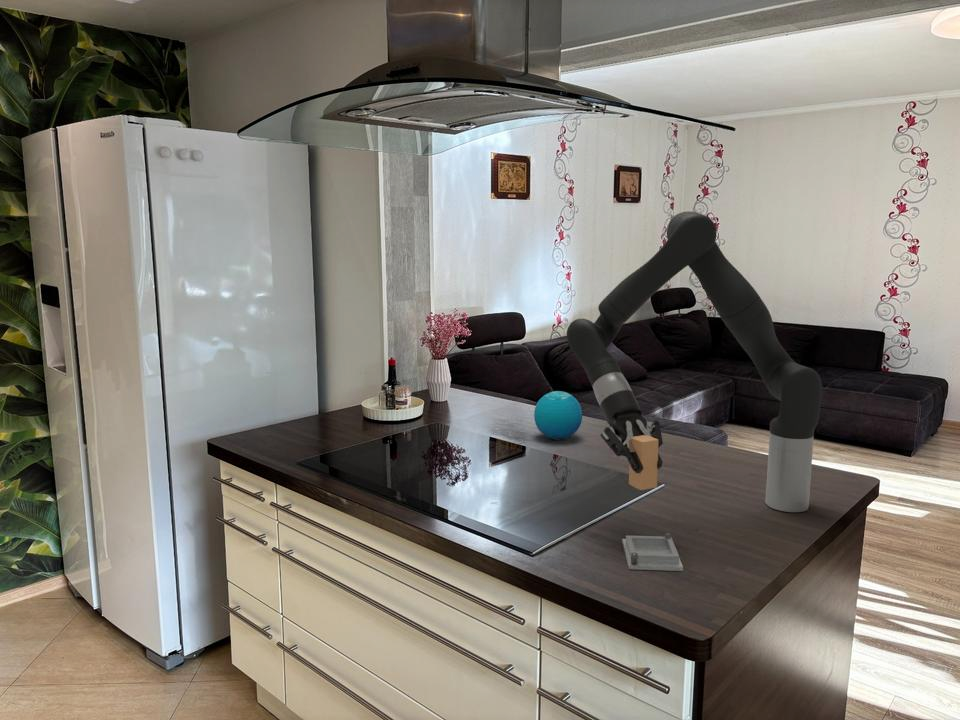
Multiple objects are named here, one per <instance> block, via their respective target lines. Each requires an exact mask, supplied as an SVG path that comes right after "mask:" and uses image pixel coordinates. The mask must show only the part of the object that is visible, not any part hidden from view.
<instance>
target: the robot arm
mask: <svg viewBox="0 0 960 720" xmlns="http://www.w3.org/2000/svg"><path fill="white" fill-rule="evenodd" d="M666 229H667V230H666V238H667V240H666V241H665V243H664V244H663V245H662V246H661V248H660V249H659V250H657V252H656V253H655V254H654V255H653V256H652V257H651V258H650V259H649V260H648V261H646V262H645V263H643V265H641V266H640V267H639V268H637V269H636V270H635V271H633V272H632V273H631V274H629V275H627V276H626V277H625V278H624V279H623V280H622V281H620V282H619V283H618V284H617V285H616V286H615V288H613V289H612V290H611V291H610V292H609V293H608V294H607V295H606V296H605V297H604V298H603V299H602V300H601V301H600V303H599V304H598V312H599V315H598V317H597V319H596V320H595V322H593V321H591V320H590V319H586V318H584V317H583V318H577V319H574V320H572V322H570V323H569V325H568V327H567V329H566V340H567V344H568V345H569V348H570V350H571V351H572V353H573V354H574V356H575V357H576V359H577V360H578V362H579V363H580V365H581V366H582V367H583V369H584V371H585V373H586V376H587V378H588V381H589V383H590V385H591V387H592V389H593V393H594V397H595V398H596V401H597V403H598V405H599V407H600V409H601V411H602V414H603V416H604V418H605V421H606V423H607V424H608V425H609V426H606V427H605V428H604V429H603V431H602V432H601V433H600V437H601V439H603V441H604V442H605V443H606V444H607V445H608V447H609V448H610V449H611V451H613V453H614V454H615V456H617V457H621V456H623V457H625V458H626V459H627V462H628V463H630V466H631V468H632V470H633V471H635V472H636V473H640V472H641V471H642V470H643V465H642V463H641V461H640V459H639V457H638V455H637V453H634V451H635V449H634V446H633V444H632V438H633V437H634V436H641V435H645V436H646V435H648V436H651V437H653V438H656V439H658V449H659V448H660V447H662V445H664V442H663V435H662V431H661V424H660V422H659V420H657V419H655V420H654V421H647V419H646V418H645V417H644V416H643V415H642V410H641V405H640V404H639V401H637V398H636V397H635V394H634V392H633V390H632V388H631V386H630V384H629V382H628V380H627V379H626V377H625V376H624V374H623V372H622V370H621V367H620V366H619V364H618V363H617V360H616V359H615V357H614V356H613V355H612V354H611V353H610V352H609V351H608V350H607V349H608V348H609V347H610V345H611V344H612V342H613V341H614V340H615V339H616V336H617V335H618V333H619V332H620V330H621V329H622V327H623V325H624V324H625V323H626V322H627V321H628V320H629V319H630V318H631V317H632V316H633V315H634V314H635V313H636V312H638V311H639V310H640V308H641V307H642V306H644V304H646V302H647V301H649V299H651V298H652V297H653V295H654V294H655V293H657V292H658V291H659V290H660V289H661V288H662V287H663V286H665V284H666V283H668V282H669V281H670V280H671V279H672V278H674V277H675V276H676V275H677V274H679V272H681V271H682V270H683V269H685V268H686V267H689V268H690V270H691V271H692V272H693V274H694V275H695V277H696V278H697V279H698V281H699V283H700V285H701V287H702V288H703V291H704V292H705V295H706V296H707V297H708V299H709V301H710V303H711V304H712V306H713V307H714V309H715V312H717V315H719V317H720V319H721V320H722V321H723V323H724V325H725V326H726V327H727V329H728V330H729V331H730V333H731V334H732V336H733V337H734V338H735V339H736V341H737V342H738V344H739V345H740V346H741V347H742V349H743V350H744V351H745V353H747V355H748V357H749V358H750V359H751V361H752V362H753V365H754V367H756V368H755V369H756V370H757V372H758V374H759V376H760V377H761V379H762V381H763V383H764V386H765V387H766V388H767V389H766V390H768V391H769V393H770V395H771V396H772V397H774V398H775V399H776V400H778V401H780V403H779V404H780V405H779V413H778V416H777V417H774V418H772V419H771V420H770V422H769V437H768V438H769V440H768V455H767V456H768V458H767V470H766V471H767V473H766V485H765V486H766V487H765V505H766V506H767V507H769V508H771V509H774V510H777V511H780V512H787V513H802V512H806V511H808V510H809V505H810V504H809V503H810V491H811V481H812V480H811V476H812V466H813V465H812V463H813V453H814V452H813V451H814V438H815V437H814V435H815V429H816V428H817V425H818V423H819V421H820V413H821V404H822V395H823V383H822V382H823V381H822V379H821V377H820V375H819V373H818V372H817V371H816V370H814V369H813V368H811V367H808V366H805V365H802V364H799V363H797V362H796V361H794V360H793V358H791V356H790V355H789V353H788V352H787V351H786V349H785V348H784V347H783V346H782V344H781V343H780V341H779V338H778V337H777V334H776V331H775V326H774V321H773V318H772V315H771V313H770V311H769V308H768V307H767V306H766V304H765V302H764V301H763V299H762V298H761V296H760V295H759V293H758V292H757V290H756V289H755V288H754V287H753V286H752V285H751V283H750V282H749V280H747V279H746V278H745V277H744V276H743V274H742V273H741V272H740V271H739V270H738V269H737V268H736V267H735V266H734V265H733V264H732V263H731V262H730V261H729V260H728V259H727V258H726V256H725V255H724V254H723V252H722V250H721V248H720V246H719V245H718V244H717V241H716V239H717V226H716V224H715V223H714V221H713V220H712V219H711V218H710V217H708V216H707V215H706V214H702V213H699V212H696V211H682V212H679V213H677V214H675V215H674V216H673V217H672V218H671V219H670V221H669V222H668V224H667V228H666ZM659 453H660V452H658V462H657V469H658V471H659V470H660V469H661V468H662V467H663V459H662V458H661V455H660V454H659Z"/></svg>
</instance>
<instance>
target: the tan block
mask: <svg viewBox="0 0 960 720" xmlns="http://www.w3.org/2000/svg"><path fill="white" fill-rule="evenodd" d="M632 444H633V446H634V449H635V451H634V453H637V455H638V457H639V459H640V461H641V463H642V465H643V470H642V471H641V472H640V473H636V472H635V471H633V470H632V468H631V466H630V463H629V462H628V463H629V464H628V466H629V467H628V485H630V486H632V487H633V488H635V489H637V490H639V491H645V490H649V489H655V488H658V471H659V470H658V469H657V462H658V453H659V448H658V439H656V438H653V437H651V436H648V435H646V436H645V435H641V436H634V437H633V438H632Z"/></svg>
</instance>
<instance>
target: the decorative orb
mask: <svg viewBox="0 0 960 720" xmlns="http://www.w3.org/2000/svg"><path fill="white" fill-rule="evenodd" d="M533 416H534V417H533V419H534V423H535V426H536V428H537V430H539V432H540V433H542V434H543V436H545V437H547V438H550V439H552V440H564V439H565V440H566V439H567V438H570V437H572V436H574V434H575V433H576V432H577V431H578V430H579V429H580V427H581V425H582V422H583V411H582V407H581V404H580V402H579V401H578V400H577V398H576V397H574V395H572V394H570V393H569V392H566V391H561V390H555V391H554V390H553V391H550V392H548V393H545V394H544V395H543V396H542V397H541V398H539V400H538V401H537V403H536V405H535V406H534V412H533Z"/></svg>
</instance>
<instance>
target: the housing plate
mask: <svg viewBox="0 0 960 720" xmlns="http://www.w3.org/2000/svg"><path fill="white" fill-rule="evenodd" d="M621 540H622V541H621V542H622V547H623V551H624V556H625V560H626V562H627V563H626V564H627V567H628V570H631V571H632V570H636V571H638V570H639V571H663V572H664V571H665V572H666V571H667V572H672V571H673V572H683V571H684V566H683V563H682V561H681V558H680V555H679V553H678V550H677V548H676V545H675V543H674V540H673V538H672V533H670V532H665V533H664V536H661V535H660V536H657V535H655V536H653V535H651V536H650V535H625V538H622V539H621Z"/></svg>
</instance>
